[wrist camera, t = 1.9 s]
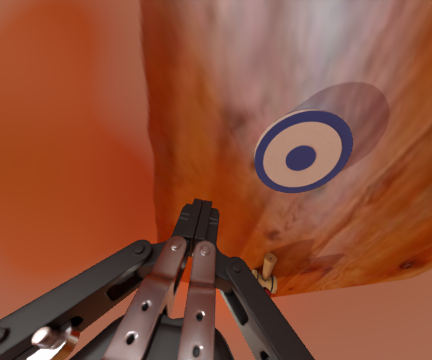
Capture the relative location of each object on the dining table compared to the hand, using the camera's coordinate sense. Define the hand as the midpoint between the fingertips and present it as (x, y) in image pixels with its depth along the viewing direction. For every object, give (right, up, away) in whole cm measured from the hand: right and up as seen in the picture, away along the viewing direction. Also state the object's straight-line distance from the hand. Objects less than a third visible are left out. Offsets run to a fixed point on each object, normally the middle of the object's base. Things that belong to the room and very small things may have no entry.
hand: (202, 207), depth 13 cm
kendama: (+15, -24, +34) cm, 44 cm away
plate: (+14, +6, +12) cm, 20 cm away
